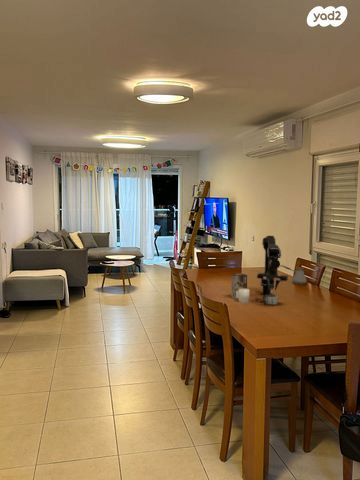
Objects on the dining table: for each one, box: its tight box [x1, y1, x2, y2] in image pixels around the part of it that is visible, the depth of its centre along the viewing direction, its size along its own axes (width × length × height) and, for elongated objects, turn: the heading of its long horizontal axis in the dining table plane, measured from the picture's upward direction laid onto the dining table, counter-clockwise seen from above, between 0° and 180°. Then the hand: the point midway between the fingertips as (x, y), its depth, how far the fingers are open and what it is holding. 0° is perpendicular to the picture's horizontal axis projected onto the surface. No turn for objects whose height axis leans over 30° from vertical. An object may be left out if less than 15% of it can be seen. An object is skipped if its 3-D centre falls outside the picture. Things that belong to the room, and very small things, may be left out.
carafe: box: [262, 294, 279, 306], centre depth 266 cm, size 7×10×5 cm
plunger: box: [269, 284, 276, 297], centre depth 265 cm, size 5×5×8 cm
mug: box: [236, 288, 250, 304], centre depth 272 cm, size 7×9×8 cm
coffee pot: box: [279, 264, 308, 286], centre depth 330 cm, size 21×12×15 cm, turn 87°
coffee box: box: [230, 273, 248, 300], centre depth 281 cm, size 9×6×16 cm
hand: (272, 290), depth 265 cm, fingers open, 4 cm apart
